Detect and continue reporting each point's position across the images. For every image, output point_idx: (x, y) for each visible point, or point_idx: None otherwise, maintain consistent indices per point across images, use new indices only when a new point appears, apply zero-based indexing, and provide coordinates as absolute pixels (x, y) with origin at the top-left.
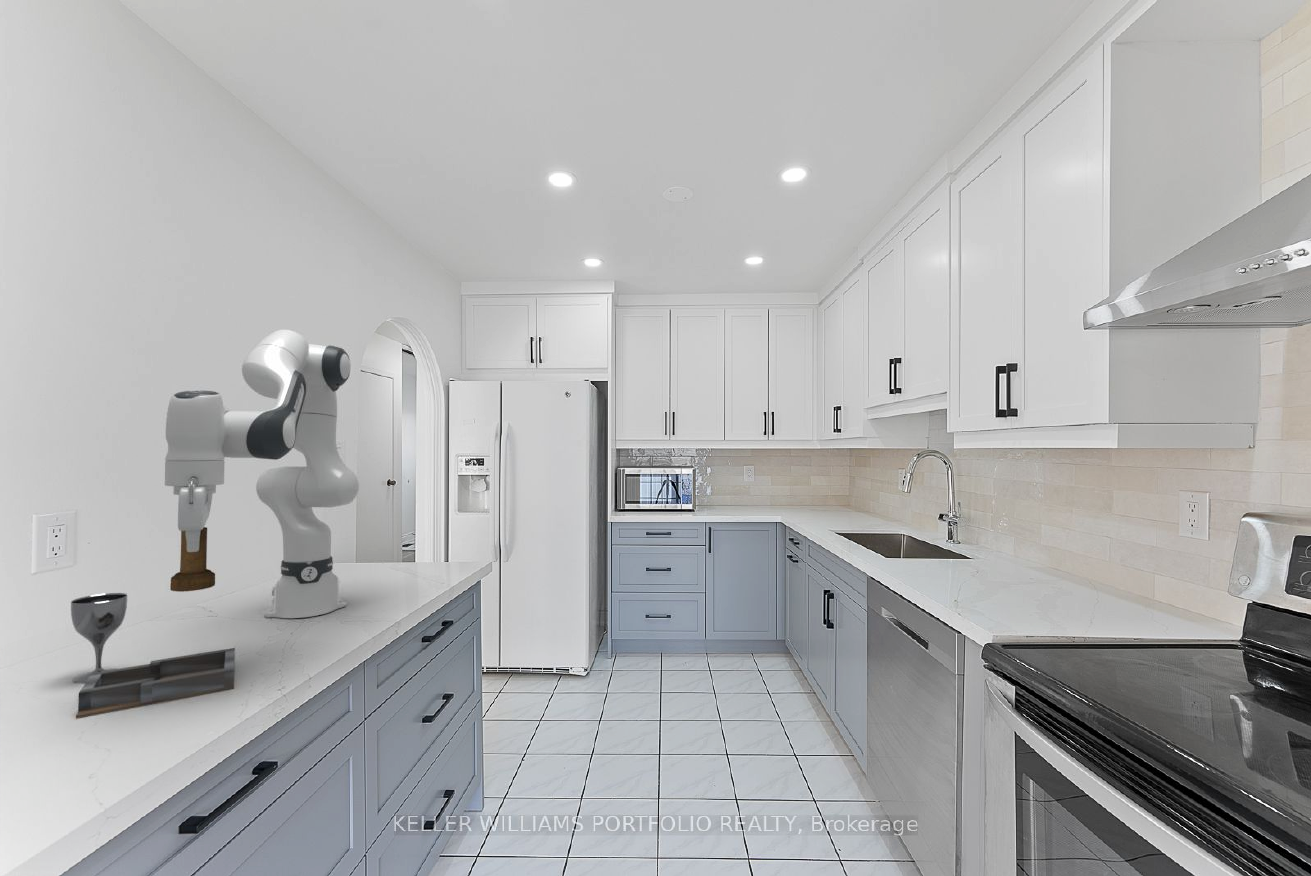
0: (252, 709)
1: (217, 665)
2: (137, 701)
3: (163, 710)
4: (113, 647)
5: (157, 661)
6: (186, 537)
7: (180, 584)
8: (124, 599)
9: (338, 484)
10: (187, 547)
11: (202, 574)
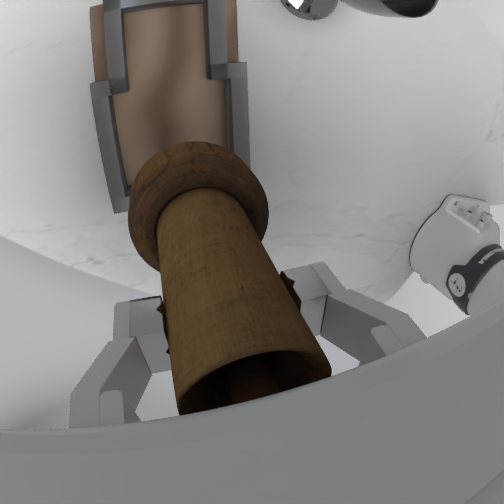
0: (30, 240)
1: None
2: (107, 74)
3: (63, 123)
4: (436, 19)
5: (235, 73)
6: (85, 374)
7: (132, 192)
8: (385, 9)
9: None
10: (116, 319)
11: (158, 264)
